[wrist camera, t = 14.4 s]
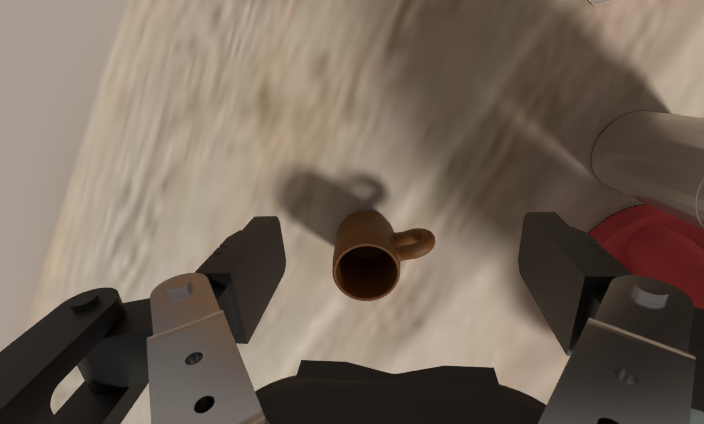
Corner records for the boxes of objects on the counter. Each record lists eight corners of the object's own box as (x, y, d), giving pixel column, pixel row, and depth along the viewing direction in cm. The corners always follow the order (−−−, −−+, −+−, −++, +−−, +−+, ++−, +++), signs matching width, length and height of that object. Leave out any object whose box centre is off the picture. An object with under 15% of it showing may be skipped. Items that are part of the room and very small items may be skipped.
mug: (414, 187, 44) (426, 215, 35) (434, 237, 46) (450, 275, 37) (327, 221, 46) (319, 257, 37) (351, 268, 48) (348, 311, 40)
